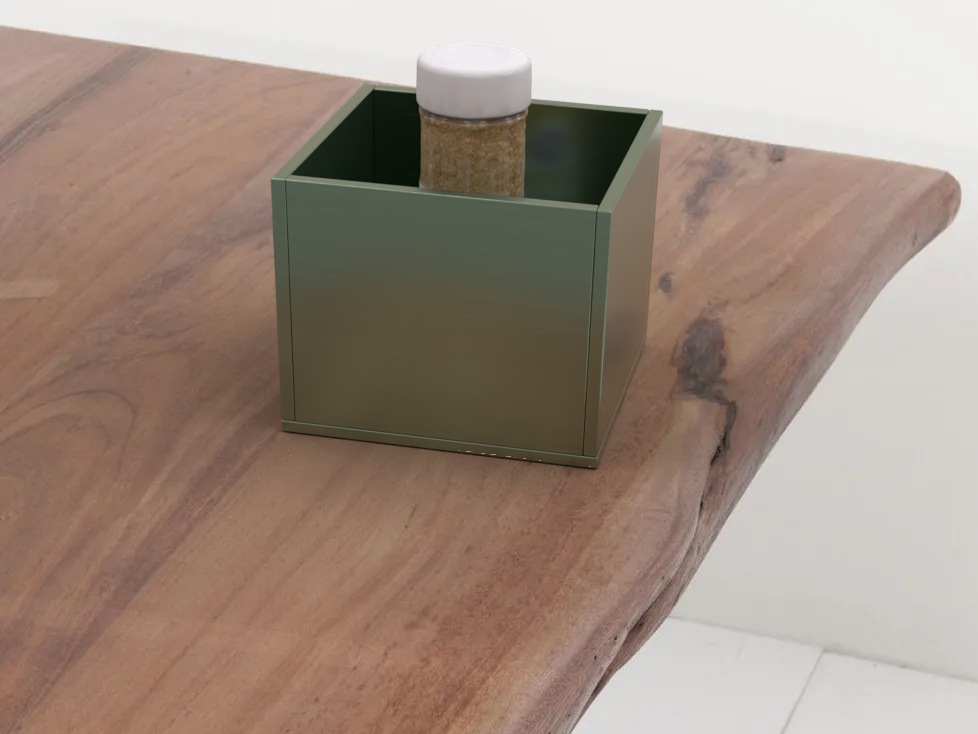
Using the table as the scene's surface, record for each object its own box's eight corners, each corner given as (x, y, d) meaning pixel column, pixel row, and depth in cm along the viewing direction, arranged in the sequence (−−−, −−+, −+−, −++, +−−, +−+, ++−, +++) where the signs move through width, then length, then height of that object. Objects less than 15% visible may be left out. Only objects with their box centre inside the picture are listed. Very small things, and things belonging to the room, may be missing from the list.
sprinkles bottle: (542, 370, 82) (555, 51, 74) (480, 405, 79) (487, 76, 71) (458, 344, 84) (462, 31, 76) (395, 377, 81) (392, 54, 73)
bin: (281, 431, 78) (269, 177, 72) (367, 312, 88) (363, 83, 82) (596, 469, 76) (612, 211, 70) (646, 343, 86) (663, 110, 80)
